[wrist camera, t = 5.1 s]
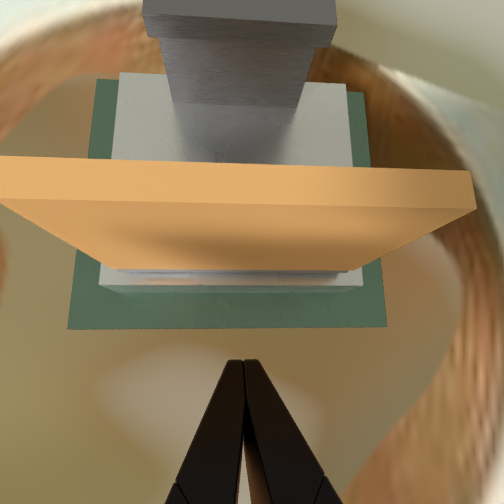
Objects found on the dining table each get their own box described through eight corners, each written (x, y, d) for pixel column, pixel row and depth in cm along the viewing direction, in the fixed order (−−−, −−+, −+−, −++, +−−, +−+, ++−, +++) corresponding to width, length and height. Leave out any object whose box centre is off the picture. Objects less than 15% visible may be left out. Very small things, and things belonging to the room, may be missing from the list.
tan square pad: (345, 274, 17) (477, 208, 8) (119, 273, 16) (-9, 198, 7) (343, 255, 17) (470, 170, 8) (121, 253, 16) (-1, 155, 7)
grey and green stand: (379, 327, 21) (537, 319, 10) (75, 329, 19) (-101, 322, 9) (357, 101, 25) (456, -71, 14) (102, 89, 23) (1, -113, 13)
